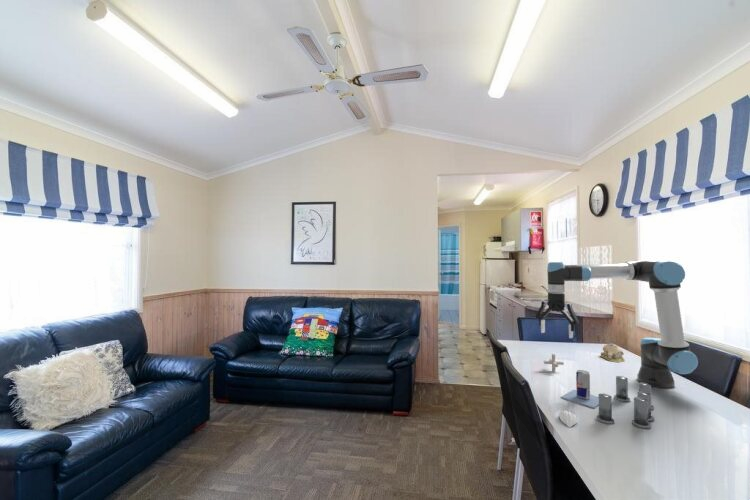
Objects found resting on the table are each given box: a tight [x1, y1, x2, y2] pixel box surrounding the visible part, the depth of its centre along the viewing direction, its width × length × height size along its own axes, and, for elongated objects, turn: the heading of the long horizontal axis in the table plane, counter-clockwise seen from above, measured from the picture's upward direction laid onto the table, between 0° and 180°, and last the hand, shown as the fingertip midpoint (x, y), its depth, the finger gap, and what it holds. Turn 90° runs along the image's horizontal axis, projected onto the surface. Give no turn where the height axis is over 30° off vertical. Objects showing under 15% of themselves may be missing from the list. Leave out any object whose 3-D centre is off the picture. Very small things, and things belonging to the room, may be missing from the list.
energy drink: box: [575, 369, 591, 400], centre depth 158 cm, size 5×5×12 cm
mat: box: [560, 389, 599, 409], centre depth 158 cm, size 14×14×1 cm
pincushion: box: [559, 410, 578, 428], centre depth 138 cm, size 12×6×6 cm, turn 156°
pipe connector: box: [543, 353, 565, 373], centre depth 195 cm, size 10×10×10 cm
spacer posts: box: [596, 375, 655, 430], centre depth 143 cm, size 19×35×10 cm, turn 127°
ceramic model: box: [600, 342, 626, 363], centre depth 218 cm, size 14×11×10 cm
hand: (556, 335), depth 170 cm, fingers open, 13 cm apart
